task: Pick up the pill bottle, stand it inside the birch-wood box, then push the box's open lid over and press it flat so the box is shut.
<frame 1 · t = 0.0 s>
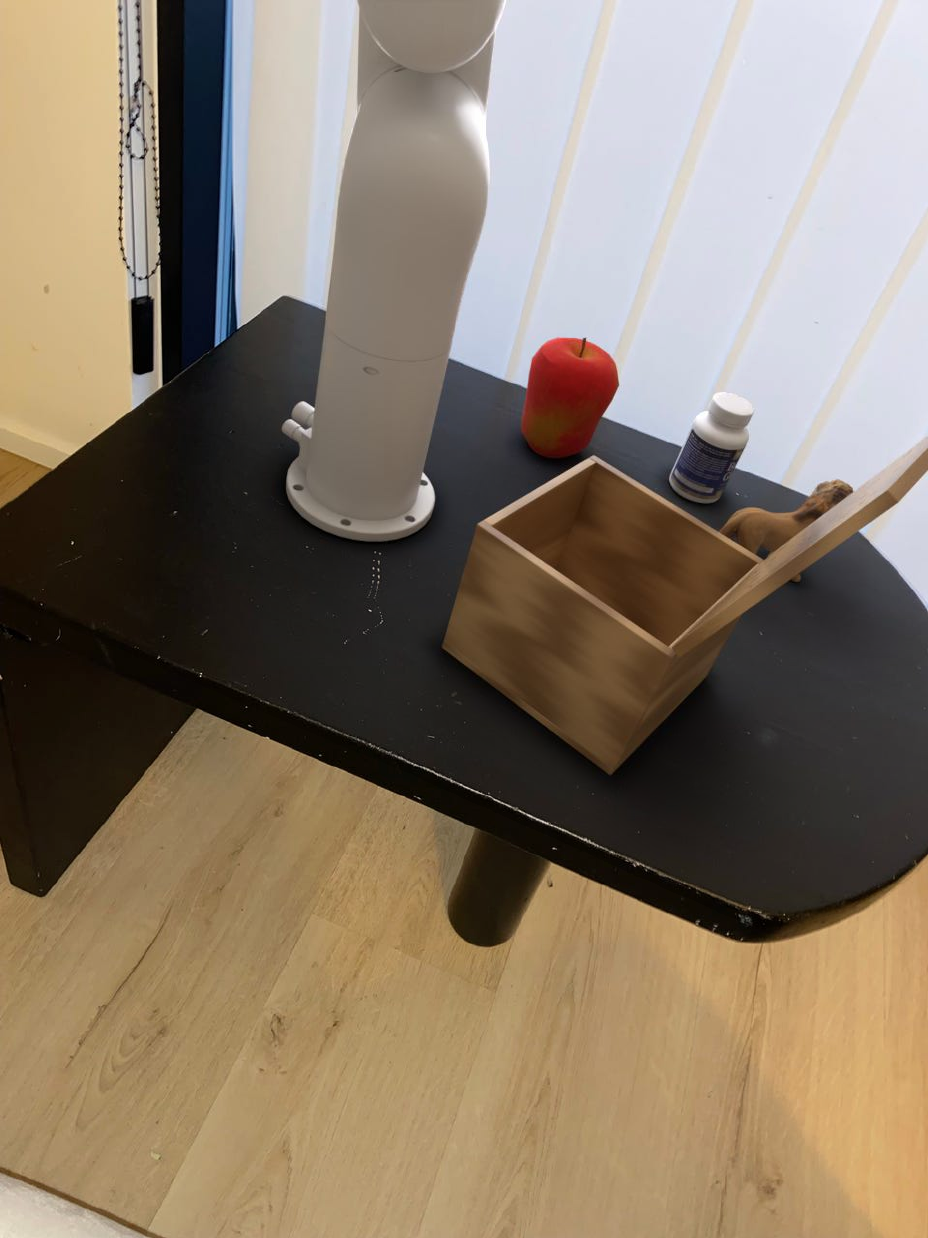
pill bottle: (693, 490, 94), on the table
case box: (577, 662, 72), on the table
cover: (821, 533, 55), point 20 cm above the table, hinge at 110.0°
lion figurine: (754, 568, 86), on the table
apple: (550, 447, 94), on the table
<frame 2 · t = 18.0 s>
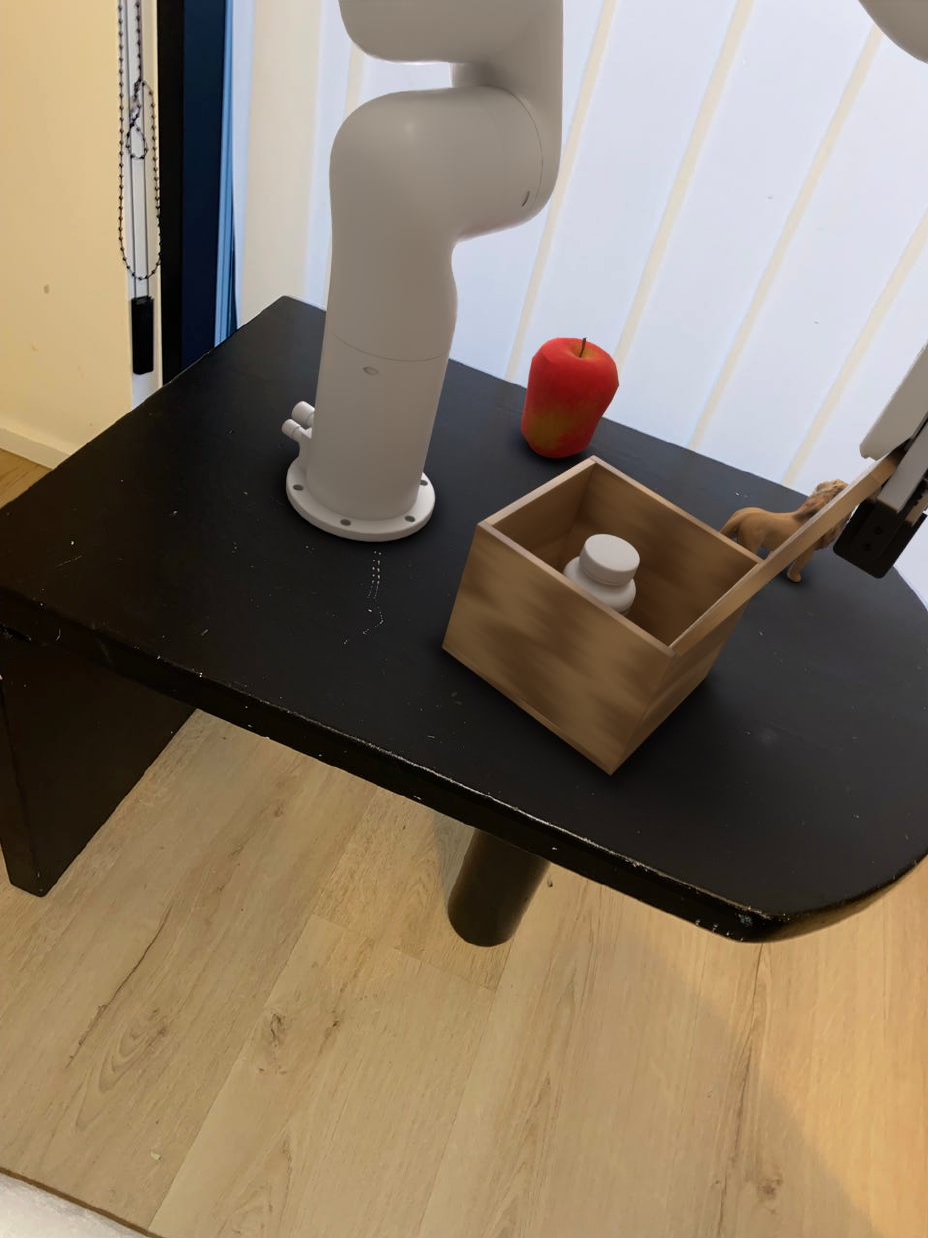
hand: (860, 559, 54), 20 cm above the table, tool pointing down, fingers closed
pill bottle: (570, 651, 72), point 1 cm above the table, touching case box
cover: (815, 526, 55), point 20 cm above the table, hinge at 106.0°
everything else where it was.
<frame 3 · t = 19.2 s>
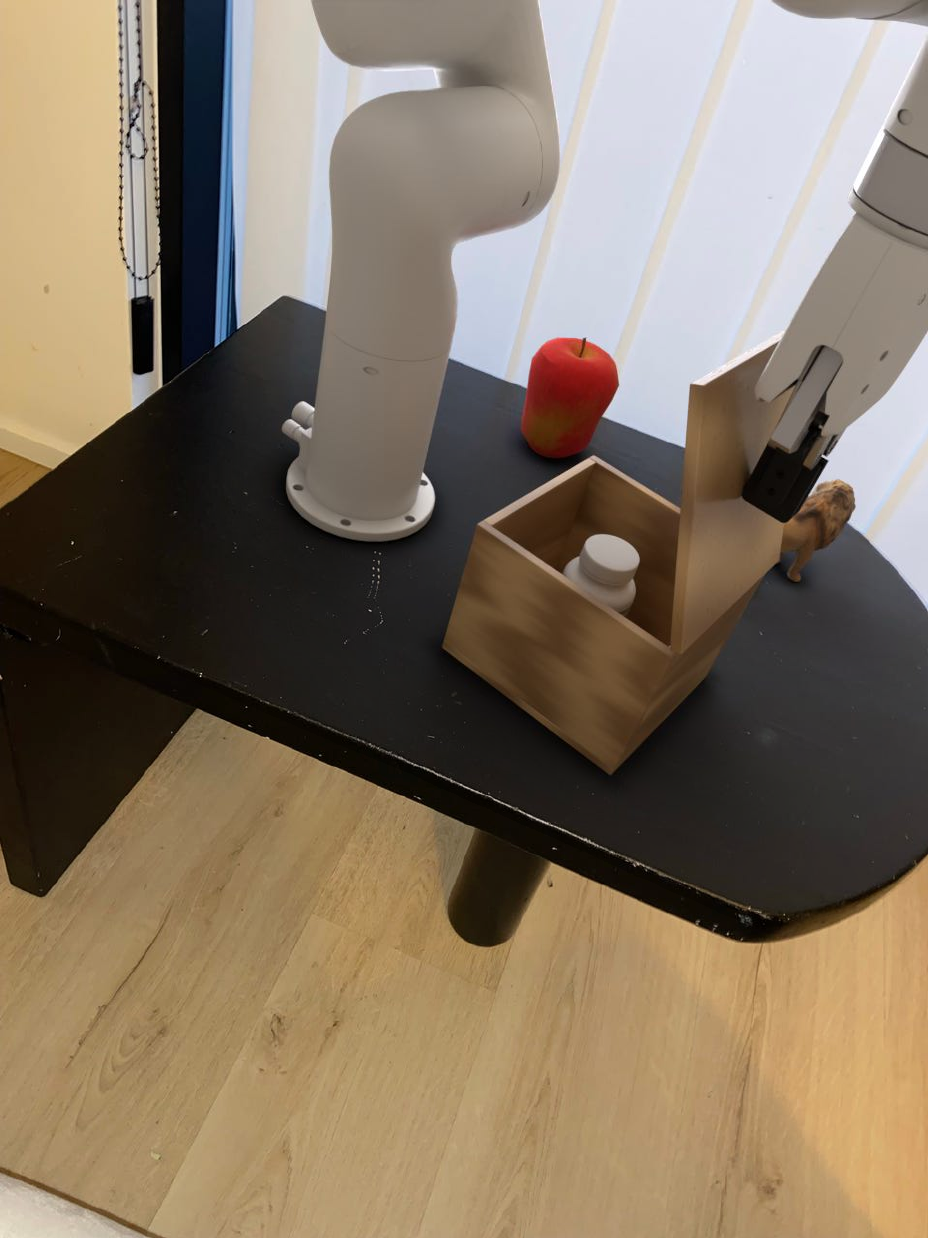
hand: (768, 505, 56), 20 cm above the table, tool pointing down, fingers closed
cover: (741, 485, 57), point 20 cm above the table, hinge at 70.5°, touching gripper
everything else where it was.
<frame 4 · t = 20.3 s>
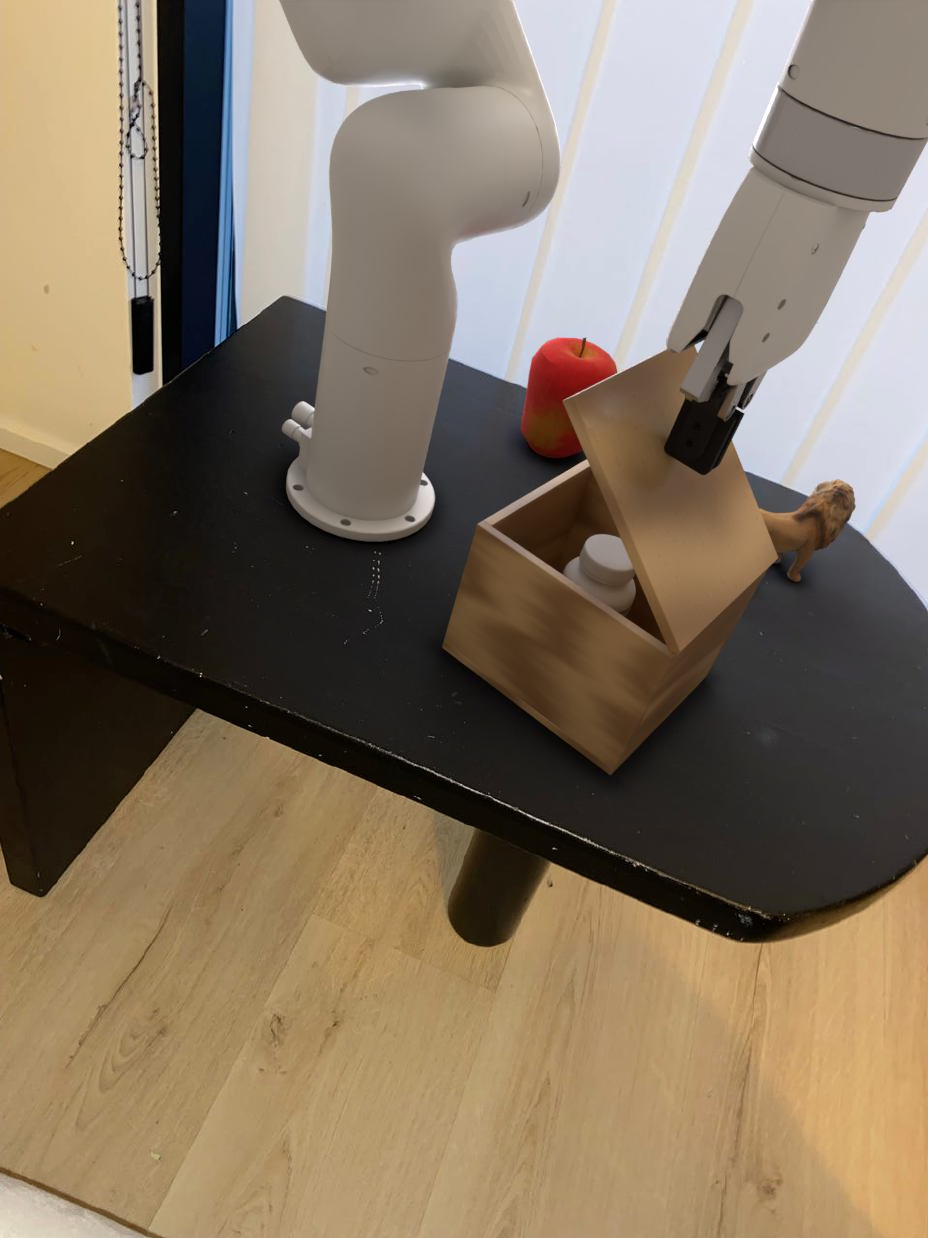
hand: (690, 459, 58), 20 cm above the table, tool pointing down, fingers closed
cover: (681, 487, 59), point 18 cm above the table, hinge at 41.9°
everything else where it was.
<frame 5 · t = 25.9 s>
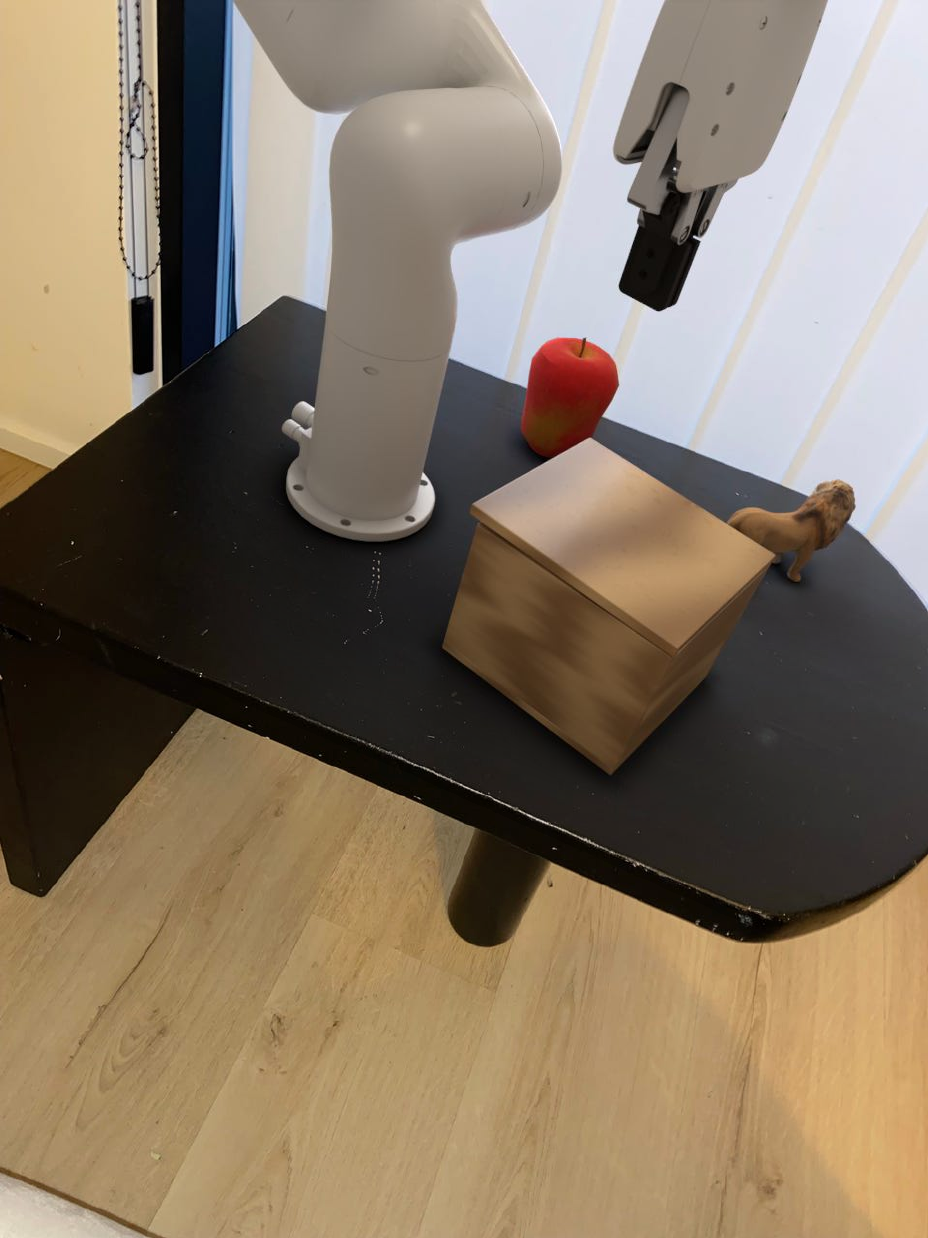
hand: (646, 298, 55), 27 cm above the table, tool pointing down, fingers closed
cover: (626, 534, 64), point 12 cm above the table, hinge at 1.0°
everything else where it was.
at the end: pill bottle inside the target area in the case box (0.8 cm from its centre), point 0.5 cm above the case box's base; cover at +1° (first picture: +110°) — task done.
